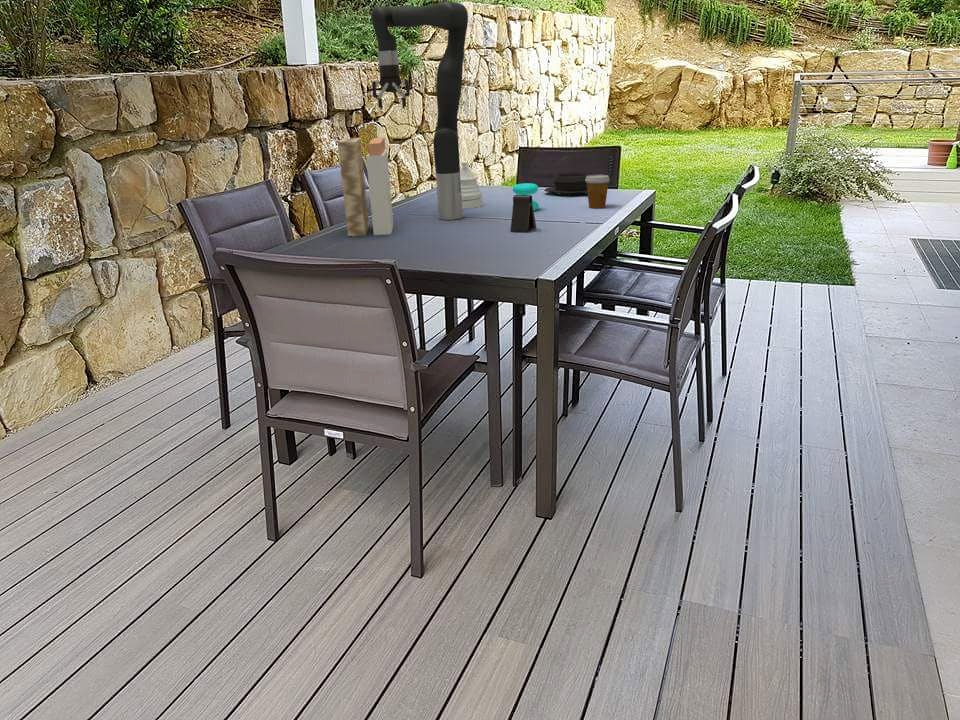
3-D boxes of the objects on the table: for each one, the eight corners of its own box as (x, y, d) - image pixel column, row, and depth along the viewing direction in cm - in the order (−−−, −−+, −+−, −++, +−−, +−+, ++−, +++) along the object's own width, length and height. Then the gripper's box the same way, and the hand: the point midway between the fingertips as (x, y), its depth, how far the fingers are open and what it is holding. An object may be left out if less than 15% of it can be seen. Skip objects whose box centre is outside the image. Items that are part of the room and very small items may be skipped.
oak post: (369, 226, 277) (360, 137, 266) (365, 235, 262) (355, 141, 251) (353, 227, 277) (343, 138, 266) (348, 236, 262) (337, 142, 251)
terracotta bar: (385, 148, 276) (384, 137, 275) (380, 155, 254) (379, 143, 252) (374, 149, 276) (373, 138, 275) (369, 156, 254) (368, 143, 252)
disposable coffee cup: (608, 204, 298) (609, 174, 294) (610, 209, 289) (610, 177, 285) (584, 205, 299) (584, 175, 295) (585, 209, 290) (585, 178, 286)
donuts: (540, 182, 295) (535, 186, 286) (540, 208, 298) (536, 212, 289) (515, 182, 297) (510, 186, 288) (516, 208, 301) (511, 212, 292)
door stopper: (526, 233, 254) (525, 197, 250) (510, 232, 257) (509, 197, 253) (536, 227, 262) (535, 193, 258) (520, 227, 264) (519, 192, 260)
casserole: (605, 191, 331) (605, 171, 328) (594, 198, 315) (594, 177, 312) (551, 190, 340) (551, 171, 337) (538, 196, 325) (537, 177, 322)
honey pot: (481, 208, 304) (479, 163, 297) (450, 209, 304) (447, 164, 298) (482, 203, 316) (480, 159, 309) (452, 204, 316) (449, 160, 310)
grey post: (393, 225, 278) (386, 150, 268) (390, 234, 263) (383, 155, 253) (377, 226, 277) (370, 151, 268) (373, 235, 263) (366, 156, 253)
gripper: (407, 63, 288) (411, 107, 294) (371, 65, 287) (375, 109, 293) (407, 62, 281) (410, 108, 287) (369, 64, 281) (373, 110, 286)
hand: (392, 108), depth 290 cm, fingers open, 8 cm apart
